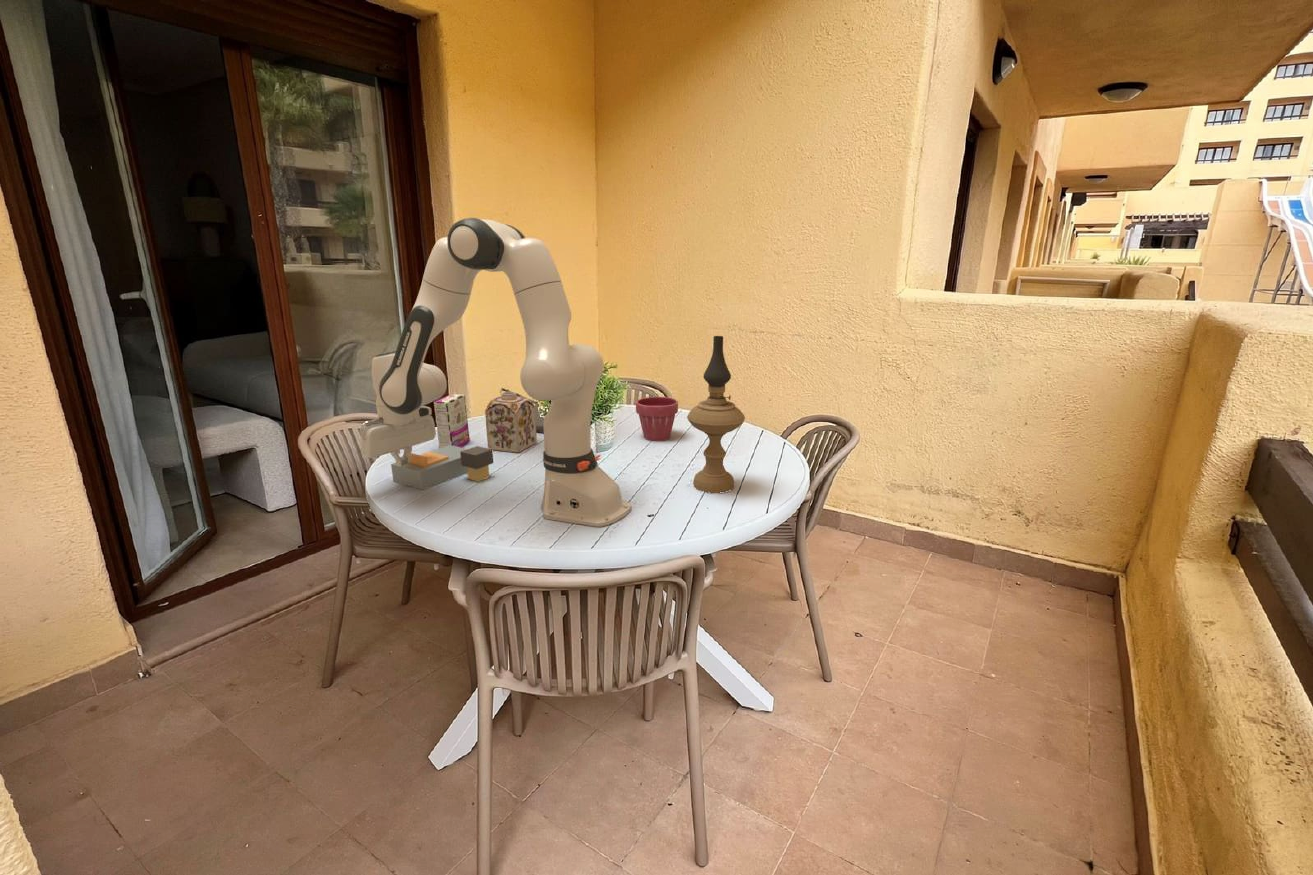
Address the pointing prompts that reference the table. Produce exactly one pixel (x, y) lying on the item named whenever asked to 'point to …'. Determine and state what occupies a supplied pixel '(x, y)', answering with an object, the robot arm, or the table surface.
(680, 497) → the table surface
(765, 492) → the table surface
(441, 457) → the panel
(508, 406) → the decorative jar
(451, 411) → the candy bar box
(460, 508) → the table surface
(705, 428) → the oil lamp
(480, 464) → the plug
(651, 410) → the plant pot
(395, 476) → the socket block
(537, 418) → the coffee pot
